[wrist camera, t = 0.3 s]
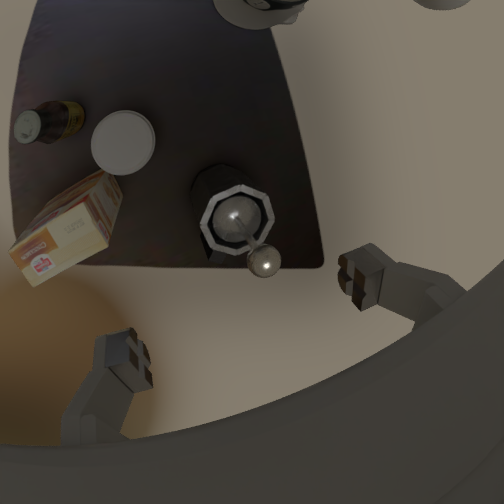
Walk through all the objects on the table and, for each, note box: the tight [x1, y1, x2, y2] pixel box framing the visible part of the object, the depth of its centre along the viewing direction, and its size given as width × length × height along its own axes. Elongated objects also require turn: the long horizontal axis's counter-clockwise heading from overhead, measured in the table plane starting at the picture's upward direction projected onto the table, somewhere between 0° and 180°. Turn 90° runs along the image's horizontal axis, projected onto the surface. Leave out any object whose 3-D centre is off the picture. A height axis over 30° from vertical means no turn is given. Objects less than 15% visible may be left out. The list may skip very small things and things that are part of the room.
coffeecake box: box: [8, 169, 123, 287], centre depth 37 cm, size 15×7×20 cm, turn 106°
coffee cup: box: [91, 110, 155, 175], centre depth 37 cm, size 9×9×12 cm
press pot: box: [190, 164, 275, 264], centre depth 48 cm, size 14×11×14 cm
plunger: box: [212, 195, 281, 278], centre depth 37 cm, size 8×8×14 cm
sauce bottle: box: [14, 101, 85, 144], centre depth 28 cm, size 6×6×20 cm
